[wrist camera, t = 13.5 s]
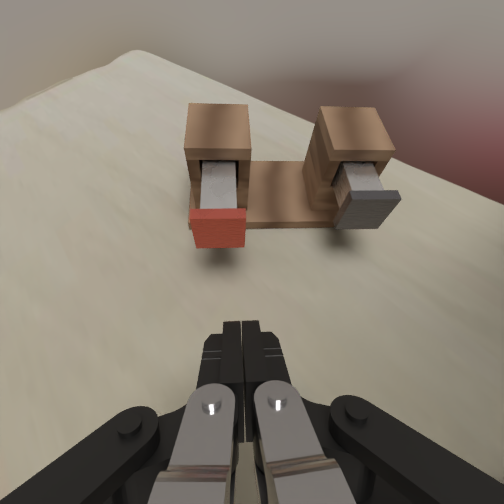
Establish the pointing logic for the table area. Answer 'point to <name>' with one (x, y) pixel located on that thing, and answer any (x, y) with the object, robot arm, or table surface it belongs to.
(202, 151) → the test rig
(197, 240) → the red plug
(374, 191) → the charcoal plug
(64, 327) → the table surface
